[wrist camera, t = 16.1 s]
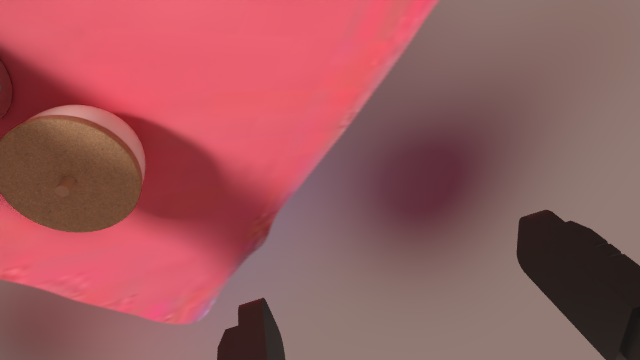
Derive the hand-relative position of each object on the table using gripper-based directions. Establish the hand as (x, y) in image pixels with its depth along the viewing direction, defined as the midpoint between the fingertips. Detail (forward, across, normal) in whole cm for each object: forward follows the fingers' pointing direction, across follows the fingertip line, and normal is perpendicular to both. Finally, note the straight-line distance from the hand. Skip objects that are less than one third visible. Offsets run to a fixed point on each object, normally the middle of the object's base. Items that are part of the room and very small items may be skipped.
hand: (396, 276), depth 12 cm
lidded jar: (+30, +20, +3) cm, 36 cm away
